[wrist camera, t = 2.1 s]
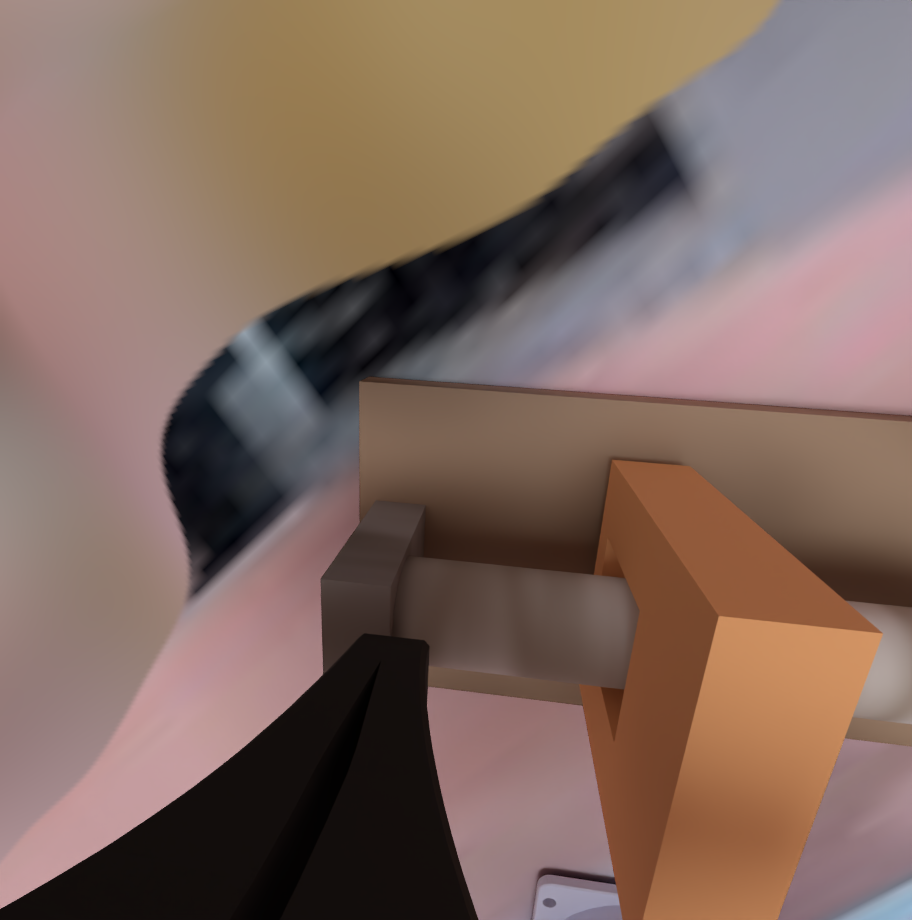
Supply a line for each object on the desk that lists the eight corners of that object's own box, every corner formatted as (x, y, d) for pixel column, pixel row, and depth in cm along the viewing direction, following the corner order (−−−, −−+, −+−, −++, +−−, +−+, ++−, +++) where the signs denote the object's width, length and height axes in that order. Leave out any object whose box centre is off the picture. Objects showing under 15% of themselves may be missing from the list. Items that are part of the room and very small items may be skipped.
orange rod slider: (644, 685, 15) (752, 987, 8) (577, 676, 15) (631, 966, 8) (690, 466, 13) (883, 633, 6) (611, 459, 13) (718, 615, 6)
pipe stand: (1179, 756, 15) (1523, 985, 10) (367, 657, 18) (307, 805, 12) (1375, 449, 12) (2002, 550, 7) (368, 376, 15) (290, 413, 9)
